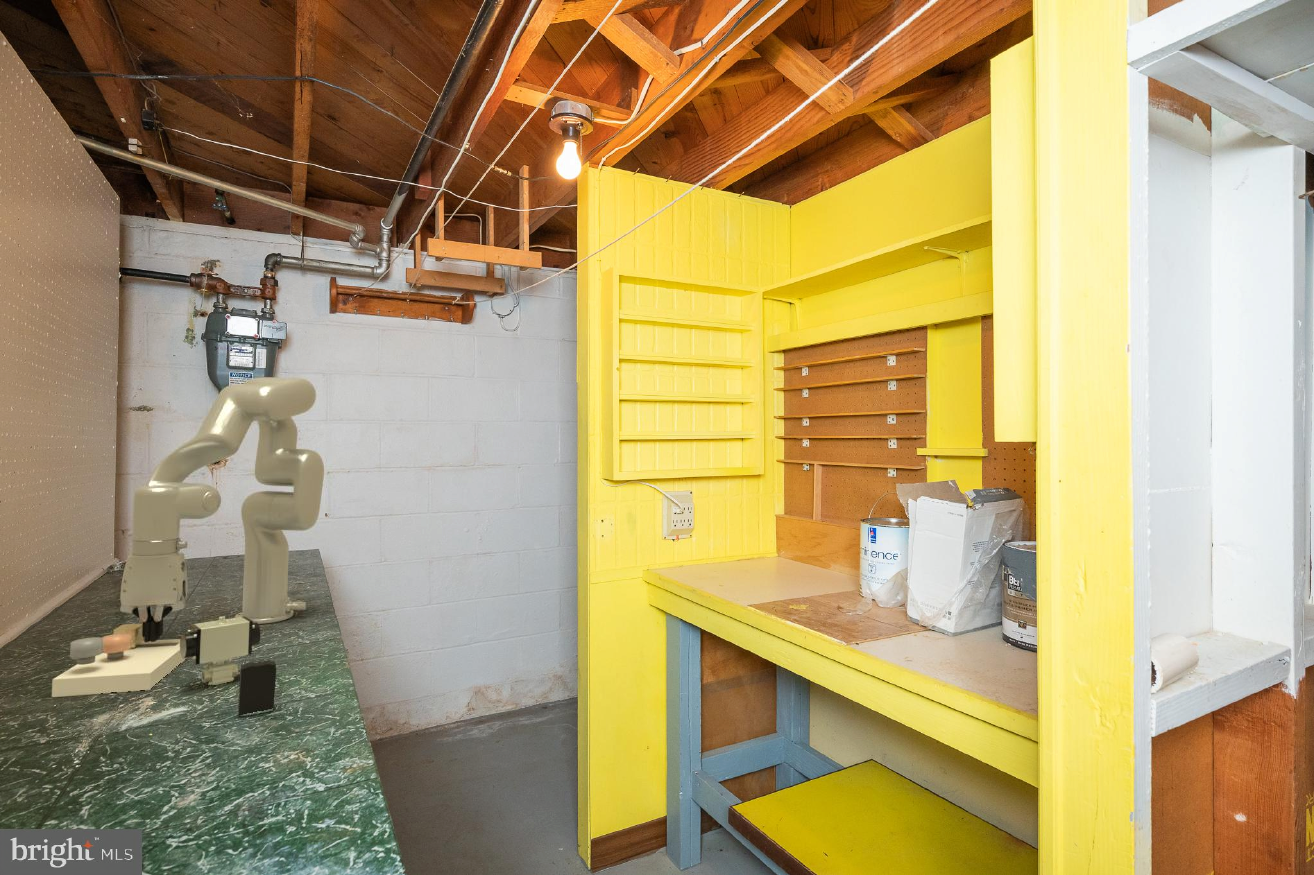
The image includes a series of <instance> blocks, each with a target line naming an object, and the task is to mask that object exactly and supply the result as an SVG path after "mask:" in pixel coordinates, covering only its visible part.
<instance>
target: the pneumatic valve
mask: <svg viewBox="0 0 1314 875" xmlns="http://www.w3.org/2000/svg"><path fill="white" fill-rule="evenodd" d="M261 633H262V632H261V628H260V624H258V623H257V622H253V621H252V620H250V619H249V618H247V617H245V616H244V617H237V618H235V617H231V618H226V616H225V615H222V616H218V619H217V620H211V621H206V622H205V621H204V622H198V623H192V624H189V629H188V630H187V632H185V633H182V634H181V635H180V638H179V639H180V653H181V656H182V658H183V659H185V658H187V659H188V660H189V661H190V662H191V663H193V664H194V665H195V666H197V665H203V664H205V665H204V669H202V671H201V677H200V678H201V682H202V683H205V684H206V683H207V682H209V683H207V685H208V686H209V685H210V686H211V685H214V684H220V683H225V682H230V681H232V682H233V680H235V677H237V676H238V673H239V667H238V664H237V663H232V662H231V661H232V660H233V658H239V657H246V656H250V655H253V649H254V647H256V646H257V647H258V645H259V644H260V642H261ZM230 683H231V682H230ZM225 684H226V683H225ZM220 685H221V684H220Z"/></svg>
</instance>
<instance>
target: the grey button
mask: <svg viewBox="0 0 1314 875" xmlns="http://www.w3.org/2000/svg"><path fill="white" fill-rule="evenodd" d="M102 653H103V638H102V637H99V636H97V637H96V636H95V637H94V636H93V637H86V638H79V639H75V640H73V641H70V651H69V654H70V655H69V658H71V659H76V660H77V663H76V665H77V664H78V665H84V664H90V663H94V662H95V656H97V655H100V654H102Z"/></svg>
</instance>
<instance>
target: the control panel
mask: <svg viewBox="0 0 1314 875" xmlns="http://www.w3.org/2000/svg"><path fill="white" fill-rule="evenodd" d="M185 659H186V660H187V659H188V658H185ZM185 659H183V658H182V656H181V653H180V638H173V639H171V638H170V639H169V638H168V639H158V640H156V641H155V642H151V641H149V642H145V640H144V642H142V643H141V644H139V645H138V646H136V647H131V648H130V649H129V650H126V651H124V656H123V657H122V658H118V659H107V653H102V654H100V655H97V656H95V662H94V663H90V664H84V665H78V664H77V663H76V665H73V666H72V667H71V668H68V669H67V670H66V671H64V672H62V673H61V674H59V675H58V676H56V677H54V678H52V683H51V698H59V697H73V696H74V697H75V696H86V695H100V694H101V693H103V694H112V693H111V692H117V693H127V692H128V691H131V692H141V691H140V690H145V691H151V688H152V687H153V686H154V685H155V684H156V683H157V684H159V683H160V682H161V681H162V680H164V678H163V677H165V676H166V675H167V674H168V675H169V674H170V673H172V672H173V671H174V670H175V669H176V668H177V667H179V666H180V665H181V664H182V663H183V662H185V661H186V660H185ZM180 663H181V664H180ZM179 664H180V665H179ZM178 665H179V666H178ZM176 666H177V667H176ZM174 668H175V669H174ZM172 670H173V671H172ZM171 671H172V672H171ZM168 675H167V676H168ZM167 676H166V677H167ZM166 677H165V678H166ZM161 679H162V680H161ZM160 680H161V681H160ZM159 681H160V682H159ZM158 682H159V683H158ZM157 684H156V685H157ZM156 685H155V686H156ZM155 686H154V687H155ZM154 687H153V688H154ZM153 688H152V689H153Z"/></svg>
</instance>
